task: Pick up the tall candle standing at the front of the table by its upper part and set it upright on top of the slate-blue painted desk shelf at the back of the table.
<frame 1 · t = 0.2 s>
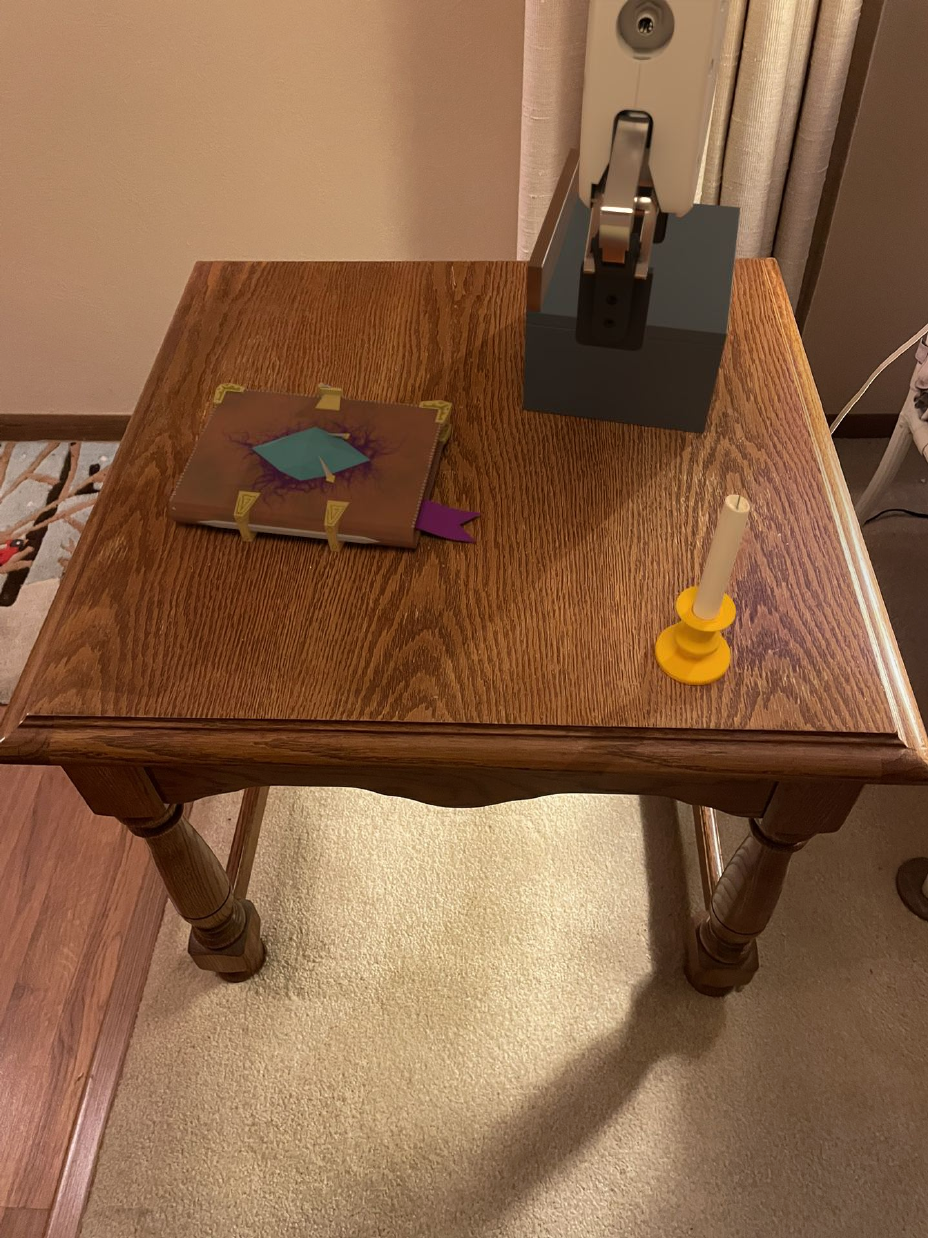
hand: (622, 288, 45), 26 cm above the table, tool pointing down, fingers open, 9 cm apart
candle: (691, 656, 63), on the table
book: (343, 481, 75), on the table
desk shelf: (626, 354, 84), on the table
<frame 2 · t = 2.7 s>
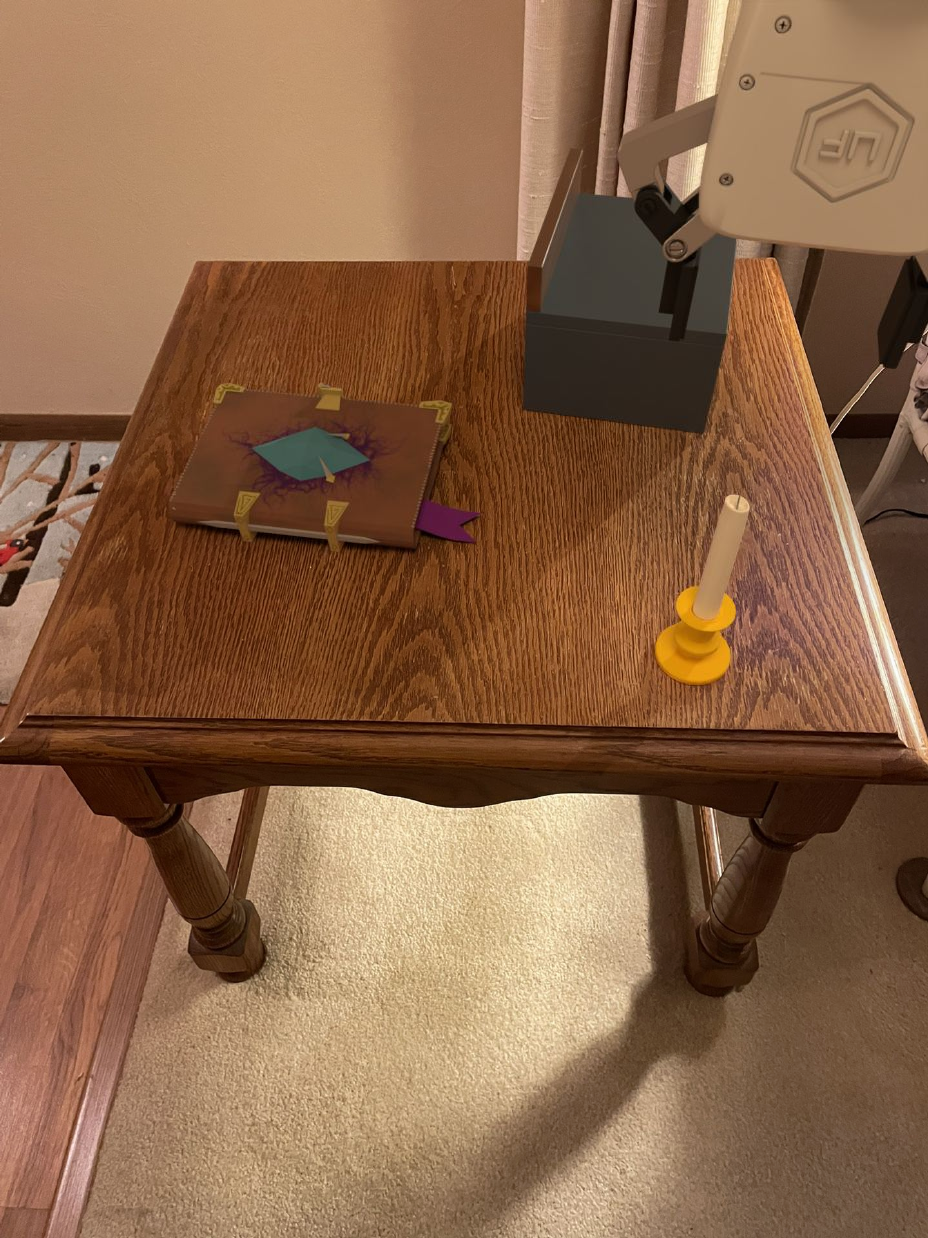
hand: (779, 337, 42), 26 cm above the table, tool pointing down, fingers open, 9 cm apart
nothing on the table moved.
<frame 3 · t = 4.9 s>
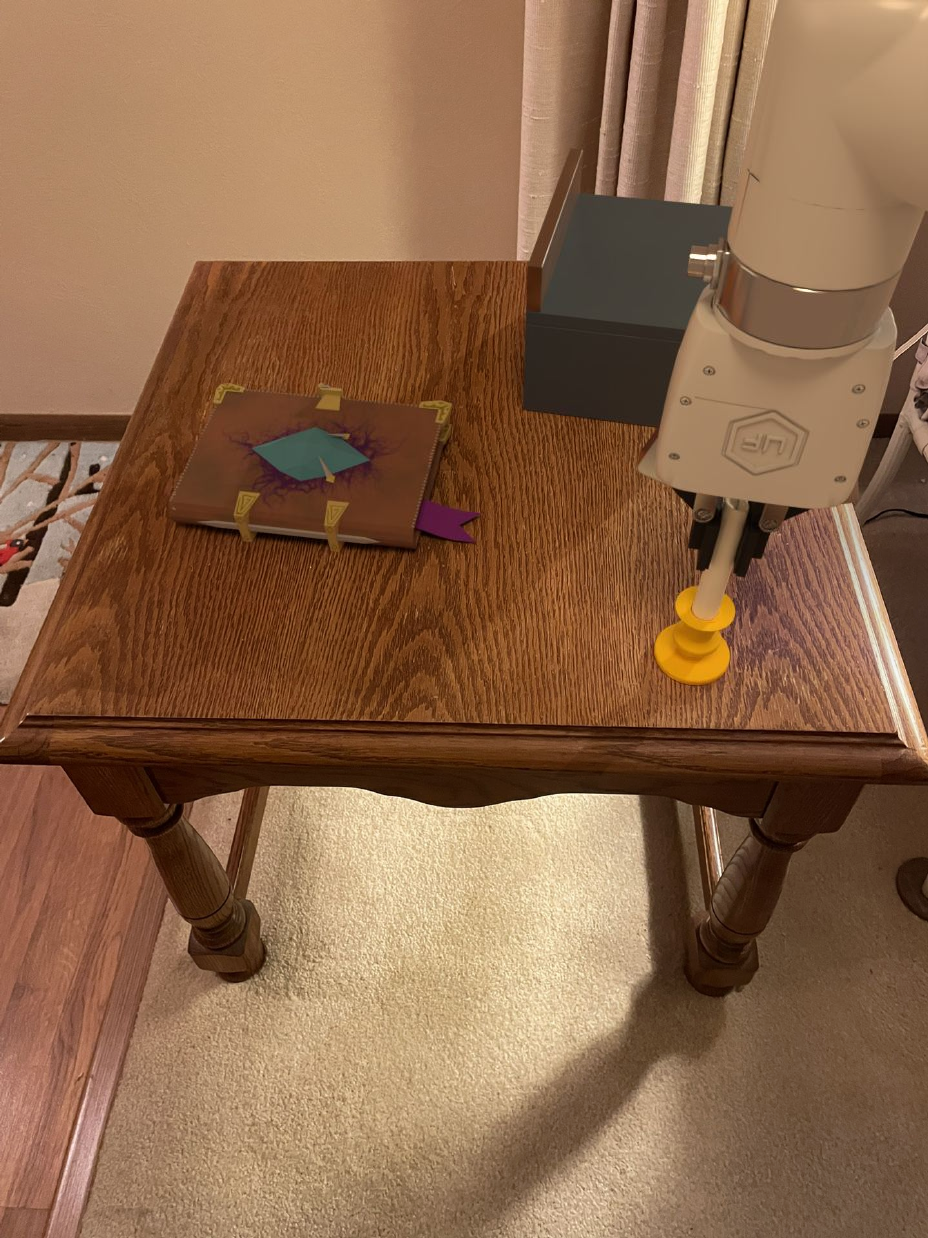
hand: (722, 555, 54), 11 cm above the table, tool pointing down, fingers closed on candle
candle: (690, 656, 63), on the table, touching gripper
everything else where it was.
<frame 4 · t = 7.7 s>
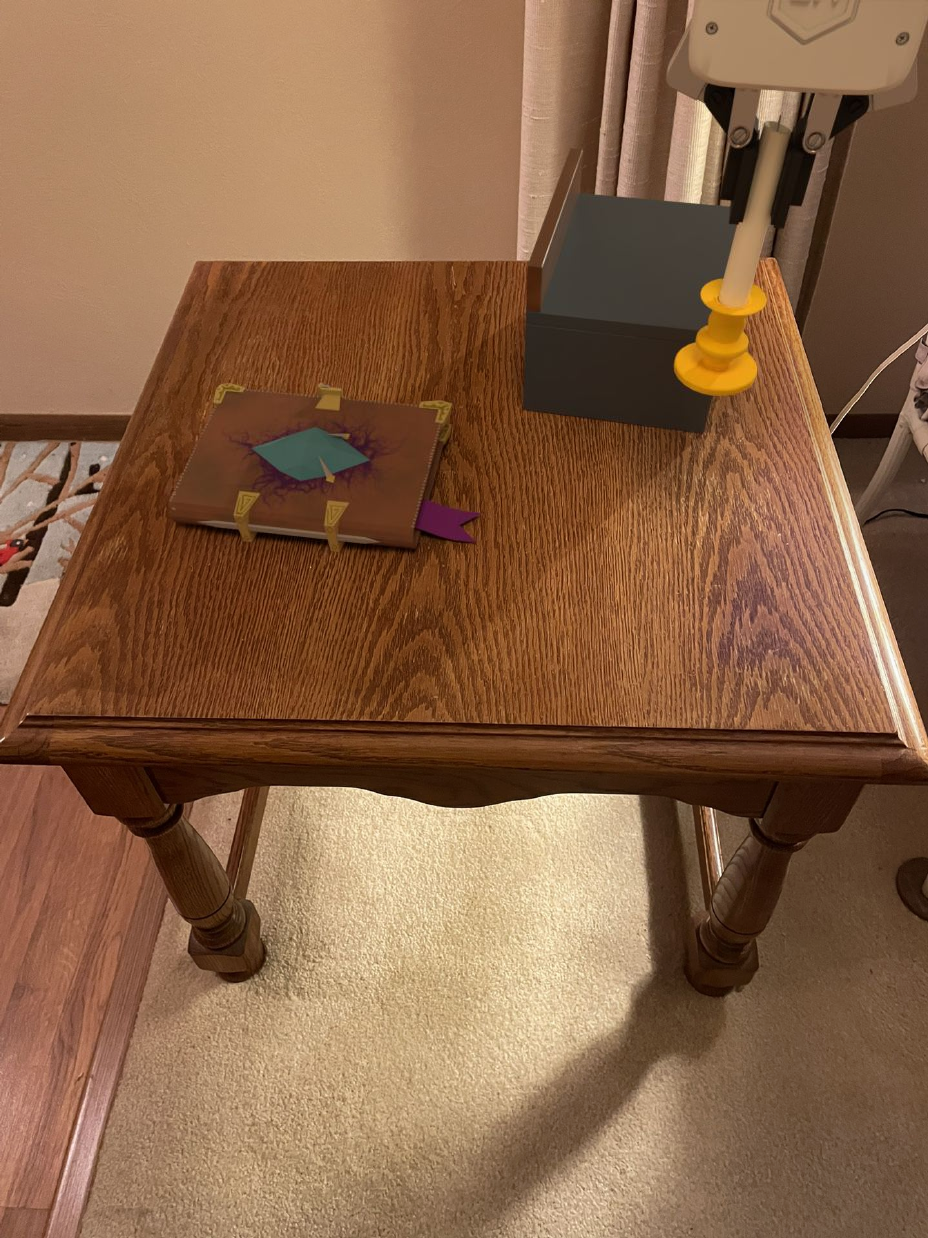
hand: (757, 211, 49), 26 cm above the table, tool pointing down, fingers closed on candle
candle: (713, 373, 57), point 16 cm above the table, touching gripper
everything else where it was.
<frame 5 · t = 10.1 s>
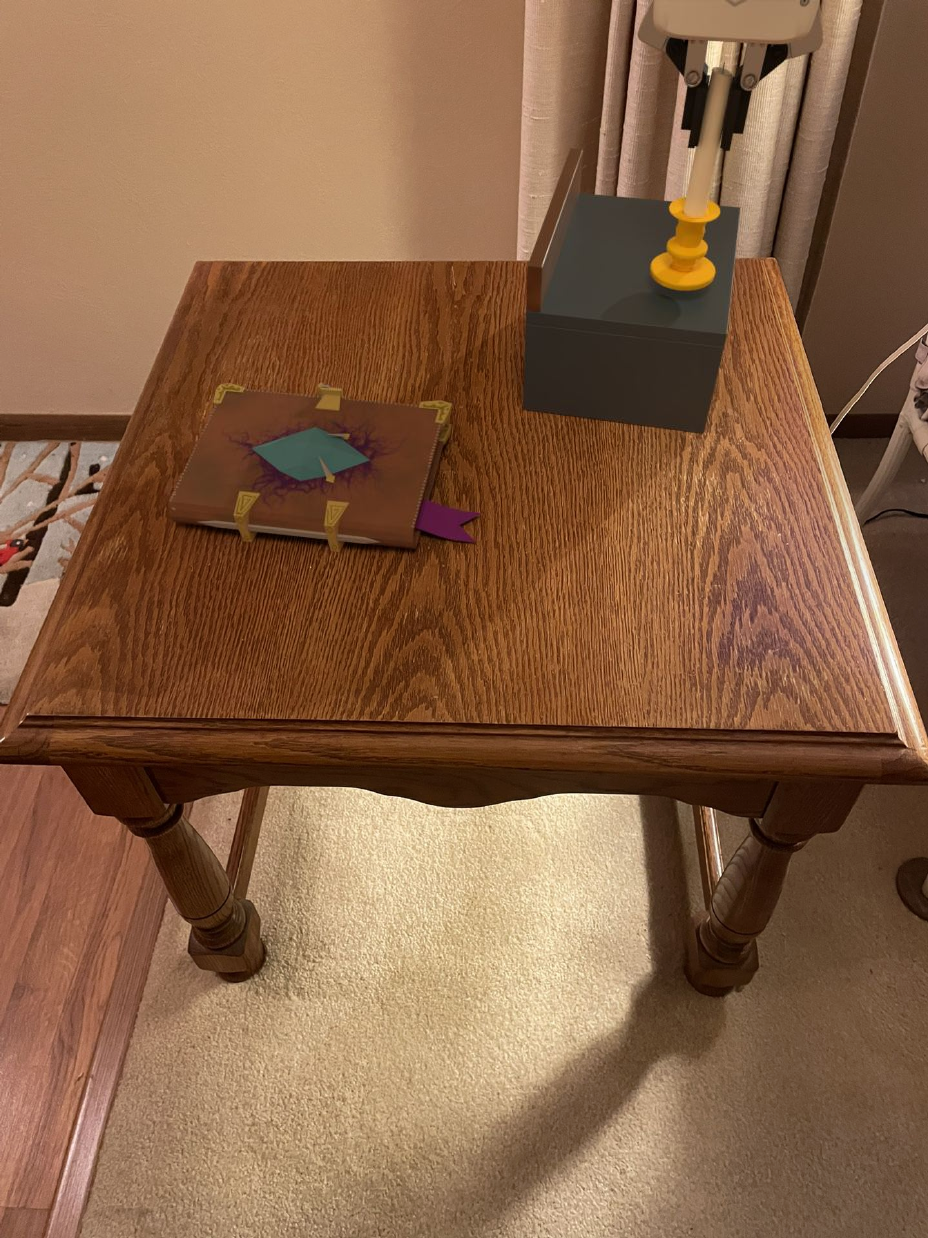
hand: (710, 139, 64), 22 cm above the table, tool pointing down, fingers closed on candle
candle: (681, 275, 72), point 11 cm above the table, touching gripper
everything else where it was.
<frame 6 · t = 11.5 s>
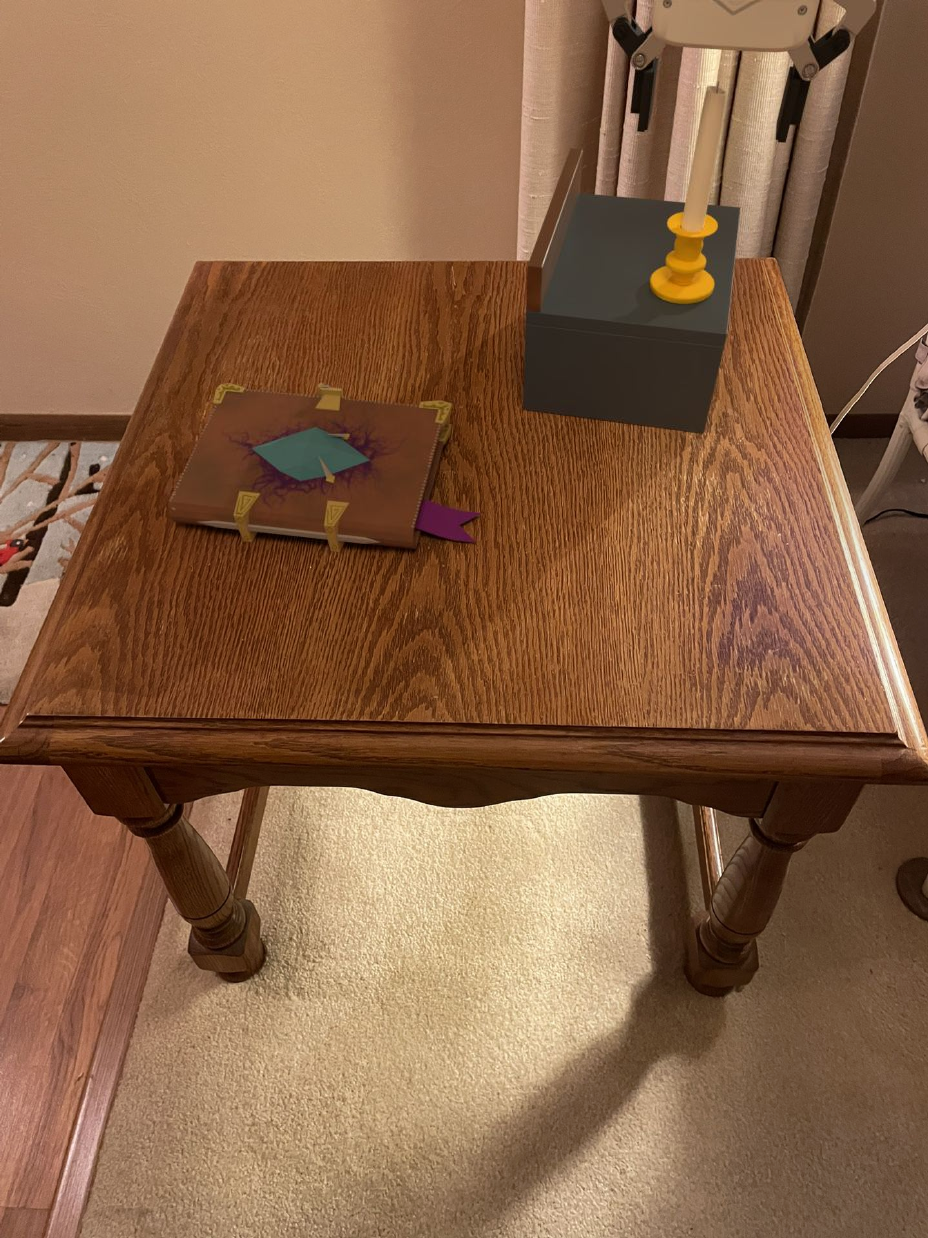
hand: (711, 128, 63), 22 cm above the table, tool pointing down, fingers open, 9 cm apart
candle: (680, 288, 73), point 10 cm above the table, touching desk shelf
everything else where it was.
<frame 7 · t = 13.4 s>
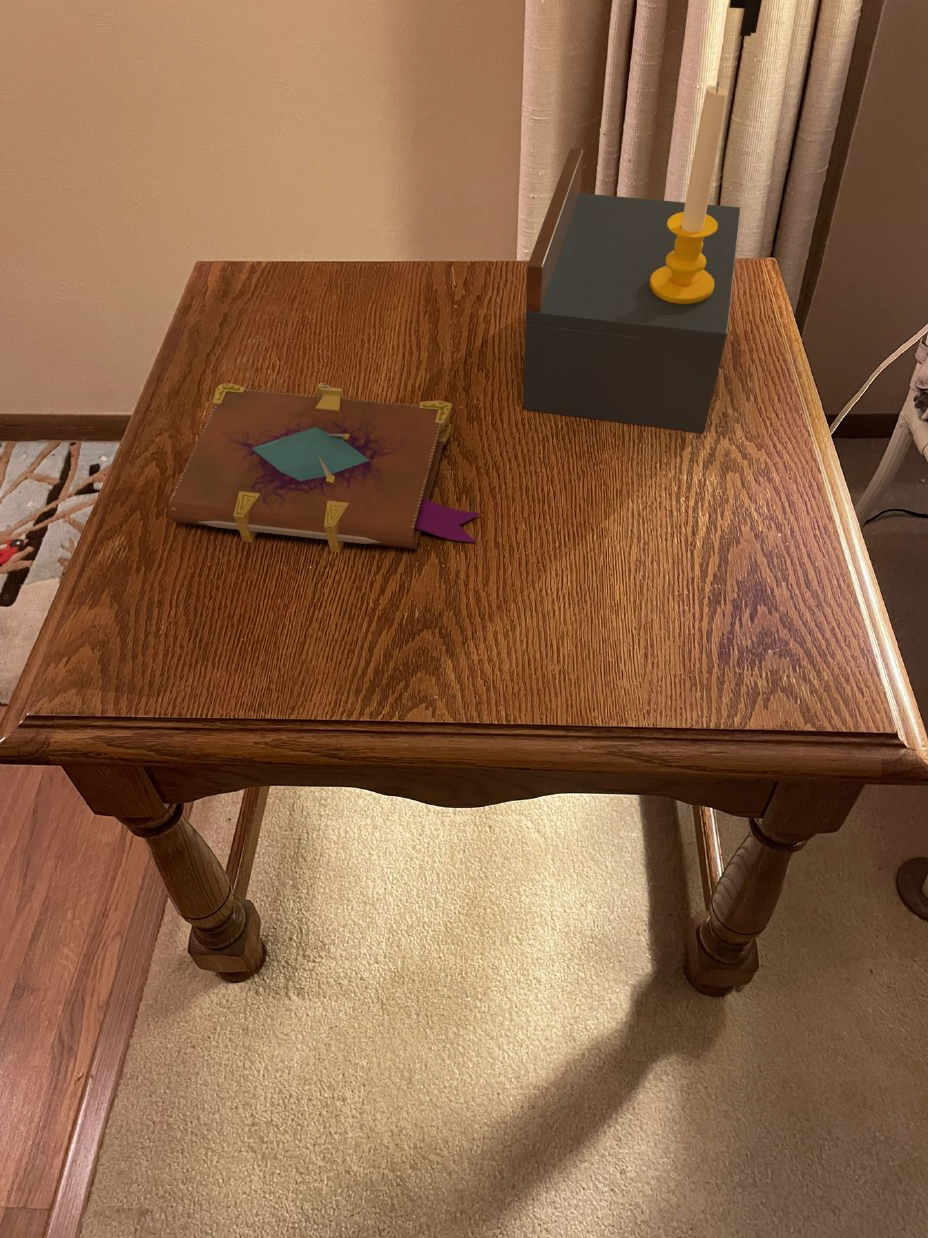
hand: (855, 30, 41), 35 cm above the table, tool pointing down, fingers open, 9 cm apart
nothing on the table moved.
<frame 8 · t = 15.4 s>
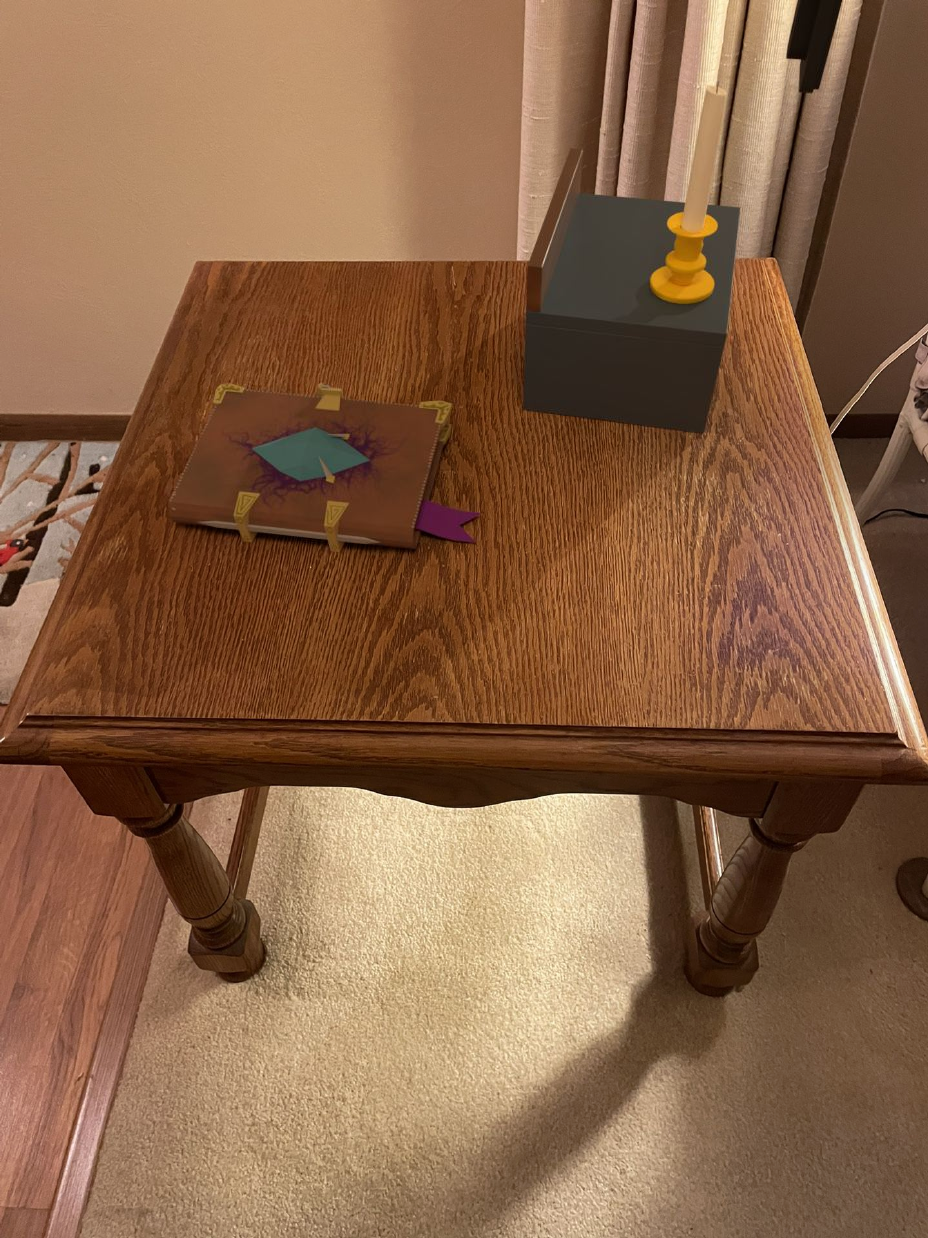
nothing on the table moved.
at the end: candle inside the target area on the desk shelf (4.0 cm from its centre), point 9.8 cm above the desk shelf's base; candle tilted 0°; the gripper is holding nothing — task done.
